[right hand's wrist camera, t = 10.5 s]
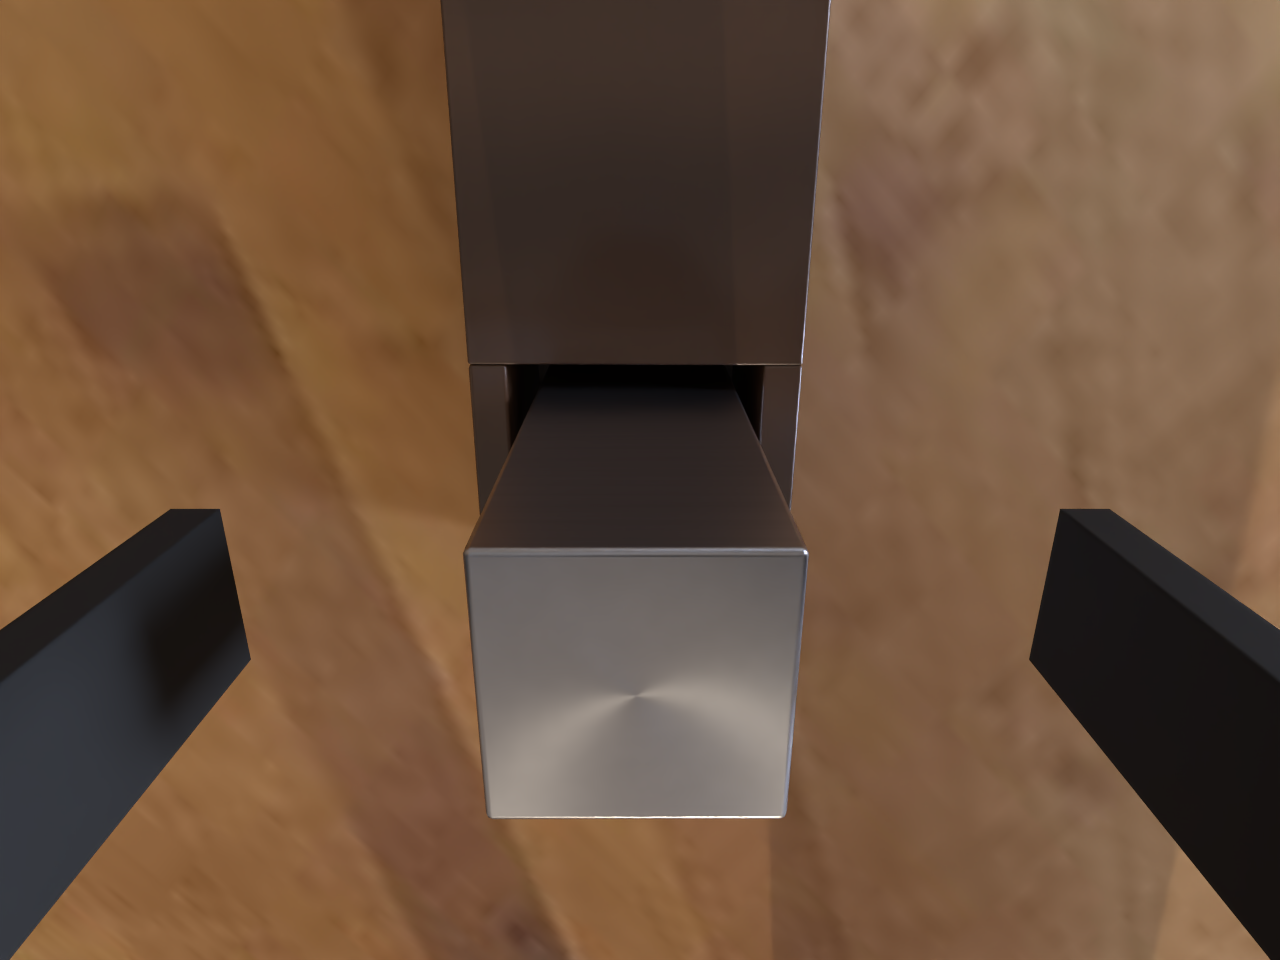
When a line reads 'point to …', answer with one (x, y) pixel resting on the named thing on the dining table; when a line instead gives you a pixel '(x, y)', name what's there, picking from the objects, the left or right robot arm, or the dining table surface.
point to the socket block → (635, 197)
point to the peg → (636, 605)
